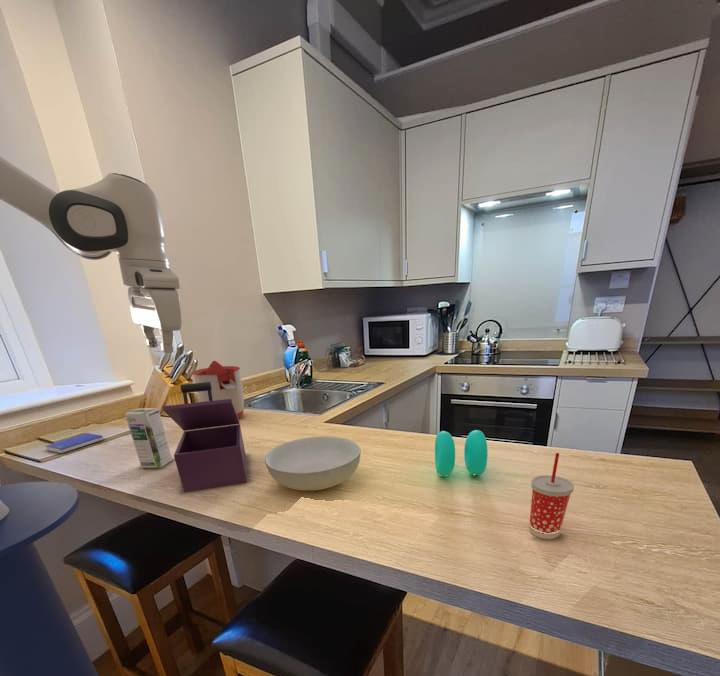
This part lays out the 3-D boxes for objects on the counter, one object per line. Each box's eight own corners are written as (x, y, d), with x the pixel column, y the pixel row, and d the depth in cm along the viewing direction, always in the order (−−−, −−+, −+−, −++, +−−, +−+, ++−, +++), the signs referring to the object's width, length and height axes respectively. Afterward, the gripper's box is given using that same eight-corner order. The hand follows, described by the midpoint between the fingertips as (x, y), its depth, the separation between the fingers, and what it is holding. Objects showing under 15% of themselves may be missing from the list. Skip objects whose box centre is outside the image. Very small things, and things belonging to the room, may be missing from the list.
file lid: (231, 402, 83) (227, 376, 83) (162, 410, 80) (158, 383, 80) (239, 423, 101) (236, 402, 101) (183, 430, 98) (180, 409, 98)
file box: (247, 482, 90) (239, 446, 86) (183, 492, 86) (173, 455, 83) (245, 455, 105) (239, 424, 101) (192, 463, 102) (184, 431, 98)
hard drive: (60, 448, 114) (102, 435, 124) (45, 445, 117) (86, 432, 127) (62, 453, 114) (103, 440, 124) (47, 450, 118) (88, 437, 128)
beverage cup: (537, 518, 69) (549, 443, 63) (571, 532, 65) (588, 453, 59) (516, 530, 66) (527, 453, 60) (551, 546, 62) (566, 464, 56)
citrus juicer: (216, 429, 129) (202, 366, 120) (195, 419, 140) (182, 362, 132) (258, 418, 138) (248, 359, 129) (236, 410, 150) (225, 355, 141)
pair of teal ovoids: (486, 483, 82) (490, 439, 78) (438, 484, 83) (440, 440, 79) (476, 465, 91) (480, 423, 87) (433, 466, 92) (434, 425, 88)
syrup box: (140, 468, 101) (122, 413, 94) (154, 459, 106) (138, 407, 100) (160, 468, 100) (144, 413, 94) (173, 459, 105) (159, 406, 99)
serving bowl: (265, 471, 95) (260, 444, 92) (347, 457, 100) (346, 431, 97) (274, 510, 77) (269, 478, 74) (375, 491, 82) (373, 460, 79)
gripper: (115, 276, 83) (129, 345, 89) (146, 276, 70) (160, 357, 76) (147, 278, 87) (158, 343, 93) (182, 278, 74) (193, 355, 80)
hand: (160, 349), depth 84 cm, fingers open, 8 cm apart
